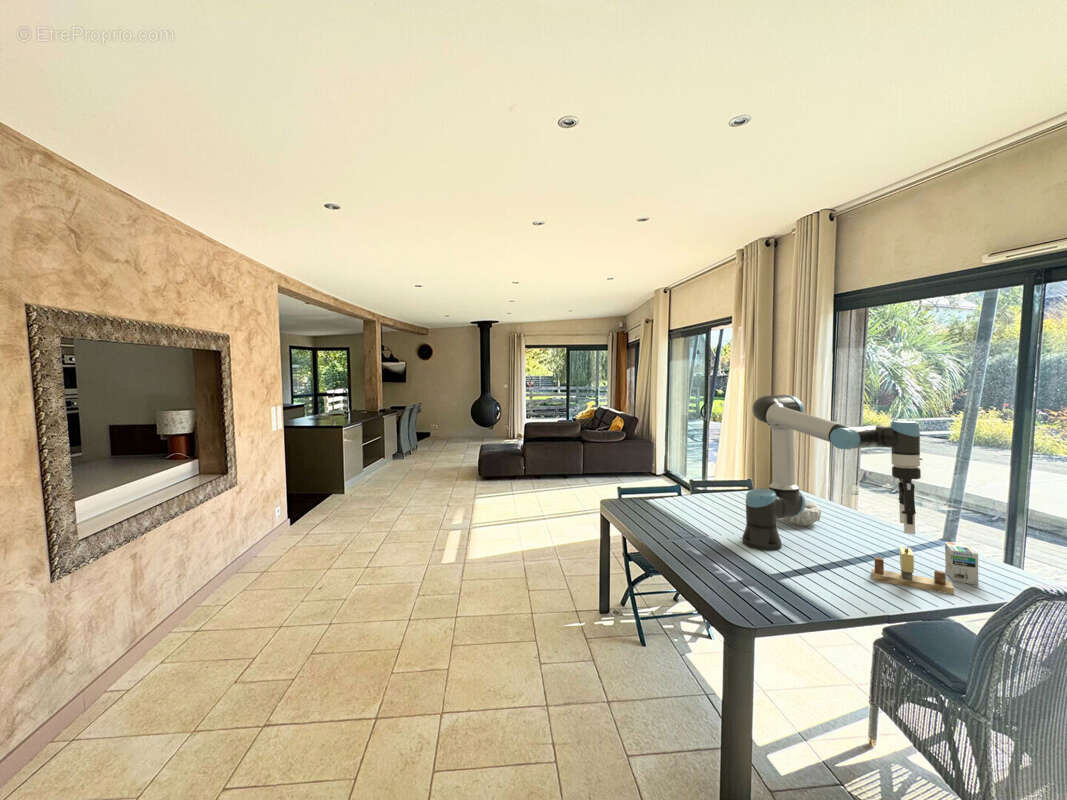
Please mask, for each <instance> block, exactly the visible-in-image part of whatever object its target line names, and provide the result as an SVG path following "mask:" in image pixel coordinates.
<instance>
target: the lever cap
mask: <svg viewBox="0 0 1067 800" xmlns="http://www.w3.org/2000/svg"><path fill="white" fill-rule="evenodd" d="M914 561H915V560H914V553H913V551H912V548H909V547H908V546H904V547H899V564H900V570H901V569H902V571H905V572H911V573H912V574H914V573H915V572H914V571H915V570H914V568H915V567H914V566H915V564H914V563H915V562H914Z"/></svg>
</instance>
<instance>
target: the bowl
mask: <svg viewBox="0 0 1067 800" xmlns="http://www.w3.org/2000/svg"><path fill="white" fill-rule="evenodd" d="M821 514H822V511H821V507H820V506H819V505H818V504H817V503H815V502H810V501H807V502H806V501H805V508H804V510H803V512H802V513H800V514H799V515H796V516H793V517H785V518H781V519H782V520H783V521H785V522H787V523H789V524H793V525H796V524H797V526H811V525H812V524H814V523H816V522H820V521H821V518H822V517H821Z"/></svg>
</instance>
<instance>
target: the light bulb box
mask: <svg viewBox="0 0 1067 800" xmlns="http://www.w3.org/2000/svg"><path fill="white" fill-rule="evenodd" d="M944 551H945V553H944V555H945V559H944V561H945V562H944V563H945V570H944V572H945V573H946V574H947V575H948V577H950V579H951V581H952V582H957V583H958V582H959V583H964V584H970V585H977V586H979V553H977V552H976V551H975V550H974V549H973V548H972V547H971V546H970V545H969V544H965V543H956V542H949V541H945V542H944Z"/></svg>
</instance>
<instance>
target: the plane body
mask: <svg viewBox="0 0 1067 800" xmlns="http://www.w3.org/2000/svg"><path fill="white" fill-rule="evenodd" d="M884 561H885V560H884V557H879V556H874V568H871V579H872V581H876V582H883V583H889V584H893V585H900V586H906V587H911V588H915V589H921V590H927V591H932V590H933V592H938V591H941V592H940V593H943V592H946V593H945V594H949V593H952V594H951V595H955V587H954V585H953V584H952V581H949V580H947V572H946V571H941V570H934V571H933V572H934V573H933V575H934V577H933V578H931V577H926V576H919V575H914V574H913V573H911V572H905V571H902V569H901V568H900V571H901V572H896V571H888V570H884V568H885V567H884Z"/></svg>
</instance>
